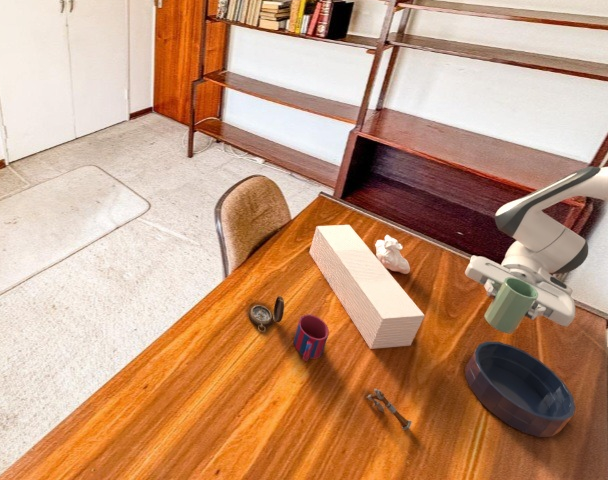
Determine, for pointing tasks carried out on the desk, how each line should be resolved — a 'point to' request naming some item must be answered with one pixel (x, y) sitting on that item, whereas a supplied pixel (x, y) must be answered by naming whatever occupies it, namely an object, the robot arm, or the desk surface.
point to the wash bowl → (519, 389)
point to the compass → (267, 314)
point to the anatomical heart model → (391, 255)
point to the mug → (310, 337)
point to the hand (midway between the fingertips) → (510, 305)
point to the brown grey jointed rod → (390, 407)
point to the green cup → (510, 305)
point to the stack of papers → (365, 288)
